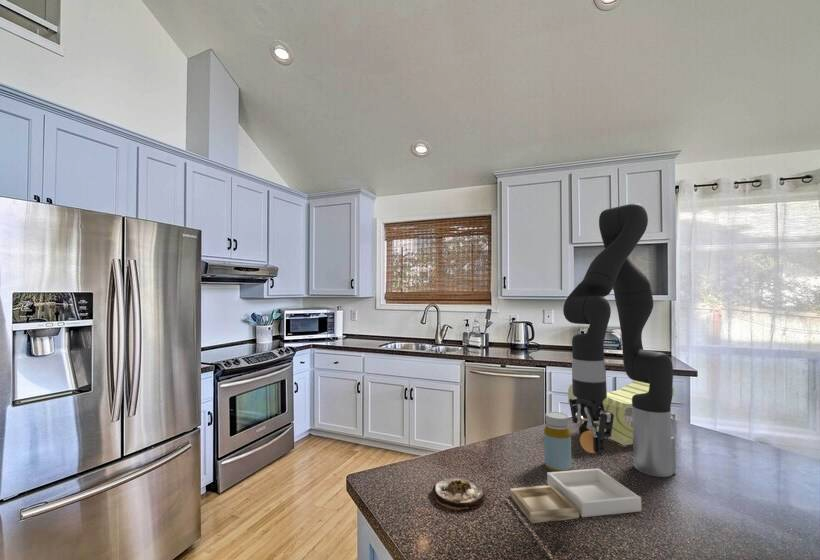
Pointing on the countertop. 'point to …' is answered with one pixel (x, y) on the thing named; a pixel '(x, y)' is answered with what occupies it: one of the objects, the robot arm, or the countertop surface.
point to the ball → (587, 441)
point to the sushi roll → (459, 494)
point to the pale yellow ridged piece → (620, 409)
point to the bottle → (557, 442)
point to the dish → (594, 492)
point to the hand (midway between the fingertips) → (591, 447)
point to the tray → (543, 503)
